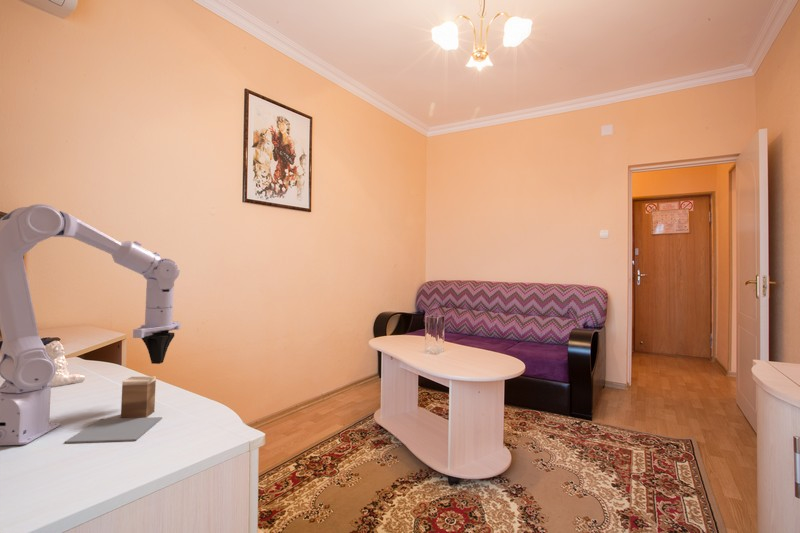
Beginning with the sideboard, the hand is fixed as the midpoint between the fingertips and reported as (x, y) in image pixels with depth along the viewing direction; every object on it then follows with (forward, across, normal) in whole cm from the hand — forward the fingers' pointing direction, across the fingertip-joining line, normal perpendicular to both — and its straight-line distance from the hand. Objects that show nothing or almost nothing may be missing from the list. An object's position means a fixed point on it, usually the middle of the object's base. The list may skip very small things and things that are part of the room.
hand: (157, 363), depth 95 cm
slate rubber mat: (+10, +16, +4) cm, 19 cm away
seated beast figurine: (+10, -10, -35) cm, 38 cm away
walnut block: (+10, +8, +2) cm, 13 cm away
